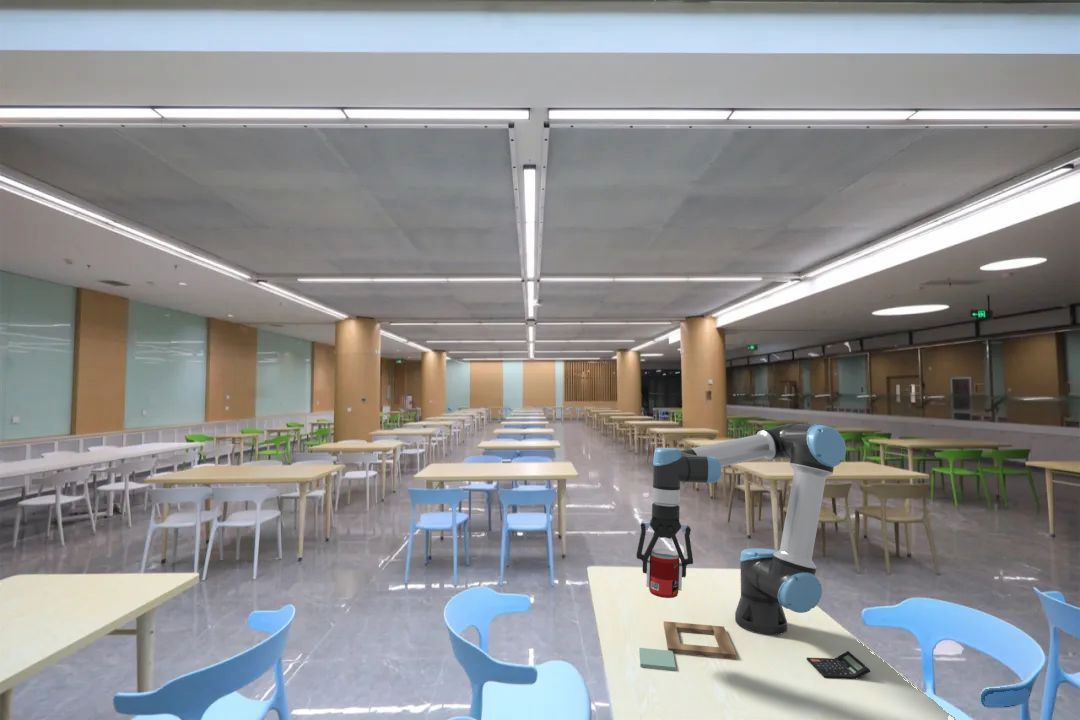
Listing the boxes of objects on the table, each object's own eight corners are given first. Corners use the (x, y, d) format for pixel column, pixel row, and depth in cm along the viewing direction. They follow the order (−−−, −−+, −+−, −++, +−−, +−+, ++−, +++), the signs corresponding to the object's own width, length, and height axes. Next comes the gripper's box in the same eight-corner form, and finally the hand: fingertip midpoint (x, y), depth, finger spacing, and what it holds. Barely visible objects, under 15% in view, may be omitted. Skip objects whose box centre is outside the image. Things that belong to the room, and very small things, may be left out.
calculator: (806, 660, 141) (806, 649, 141) (849, 662, 141) (849, 650, 141) (824, 679, 132) (824, 666, 132) (870, 680, 131) (870, 668, 131)
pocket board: (723, 630, 158) (723, 626, 158) (736, 659, 140) (736, 654, 140) (663, 625, 161) (663, 621, 161) (668, 652, 143) (668, 648, 143)
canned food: (678, 600, 138) (680, 558, 139) (648, 596, 140) (649, 554, 141) (677, 590, 146) (678, 550, 147) (648, 586, 147) (650, 547, 148)
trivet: (672, 653, 142) (672, 650, 142) (675, 670, 134) (675, 667, 134) (639, 650, 144) (639, 647, 144) (640, 666, 135) (640, 663, 135)
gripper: (702, 504, 147) (700, 586, 145) (628, 498, 150) (625, 578, 148) (706, 509, 139) (704, 596, 137) (628, 502, 143) (625, 587, 141)
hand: (663, 586), depth 143 cm, fingers closed on canned food, 8 cm apart
